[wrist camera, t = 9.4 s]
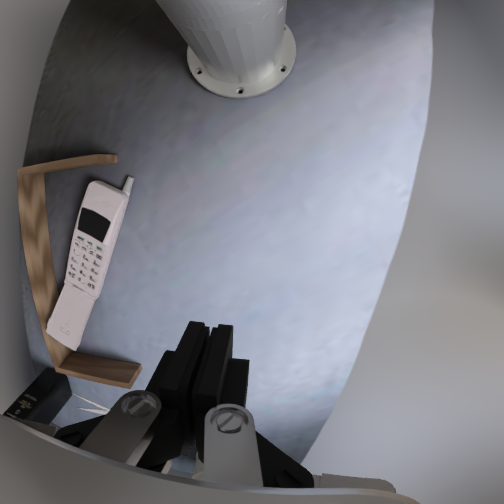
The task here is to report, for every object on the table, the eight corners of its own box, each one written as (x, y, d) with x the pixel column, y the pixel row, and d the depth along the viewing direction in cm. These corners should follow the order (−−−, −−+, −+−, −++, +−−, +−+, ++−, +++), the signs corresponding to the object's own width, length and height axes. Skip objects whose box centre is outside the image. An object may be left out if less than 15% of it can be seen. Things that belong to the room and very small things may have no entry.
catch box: (39, 166, 35) (17, 168, 30) (117, 154, 34) (97, 154, 29) (70, 356, 43) (55, 371, 38) (142, 369, 42) (130, 388, 37)
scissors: (171, 444, 47) (79, 419, 47) (172, 441, 47) (81, 417, 48) (165, 406, 44) (66, 380, 45) (166, 403, 45) (68, 378, 45)
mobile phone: (44, 333, 36) (78, 164, 29) (64, 316, 41) (103, 163, 35) (76, 354, 36) (120, 183, 29) (94, 334, 42) (141, 180, 35)
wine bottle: (45, 365, 45) (-46, 465, 16) (67, 374, 44) (-23, 486, 15) (51, 387, 46) (-28, 486, 17) (74, 396, 46) (-5, 505, 17)
